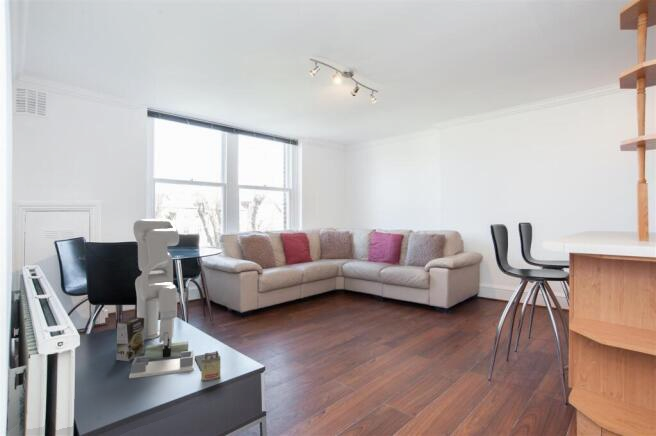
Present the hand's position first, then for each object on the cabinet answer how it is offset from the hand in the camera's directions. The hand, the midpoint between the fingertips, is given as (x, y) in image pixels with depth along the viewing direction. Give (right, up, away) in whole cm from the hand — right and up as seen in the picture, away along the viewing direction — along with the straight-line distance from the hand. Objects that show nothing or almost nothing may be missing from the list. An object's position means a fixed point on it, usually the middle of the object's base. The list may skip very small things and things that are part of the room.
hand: (167, 354), depth 151 cm
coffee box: (-16, 0, -1) cm, 16 cm away
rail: (0, -1, 0) cm, 1 cm away
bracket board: (+4, -1, -12) cm, 13 cm away
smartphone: (+19, -2, -6) cm, 20 cm away
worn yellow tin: (+26, -2, -19) cm, 32 cm away
